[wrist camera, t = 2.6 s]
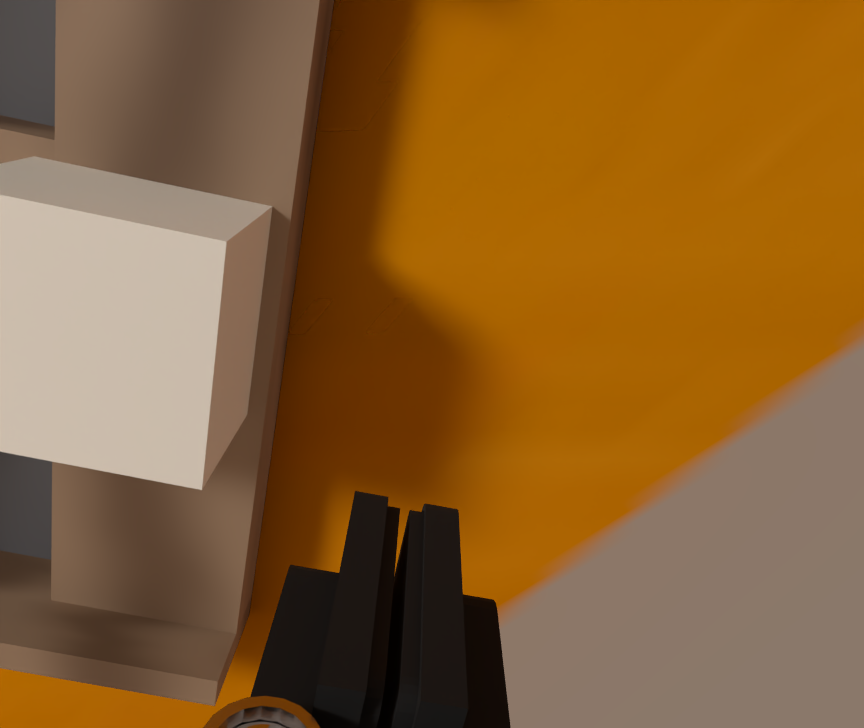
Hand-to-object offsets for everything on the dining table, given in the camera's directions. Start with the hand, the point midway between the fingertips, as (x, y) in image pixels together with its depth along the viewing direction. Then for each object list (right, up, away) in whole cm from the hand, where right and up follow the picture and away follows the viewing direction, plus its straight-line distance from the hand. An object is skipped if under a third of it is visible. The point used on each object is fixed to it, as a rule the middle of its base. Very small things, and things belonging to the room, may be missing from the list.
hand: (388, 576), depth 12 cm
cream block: (-7, +5, +8) cm, 12 cm away
